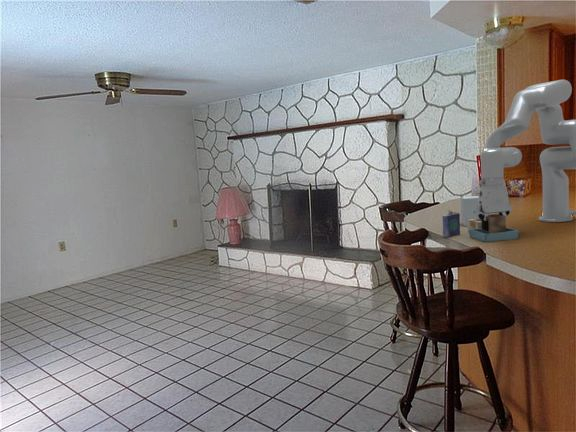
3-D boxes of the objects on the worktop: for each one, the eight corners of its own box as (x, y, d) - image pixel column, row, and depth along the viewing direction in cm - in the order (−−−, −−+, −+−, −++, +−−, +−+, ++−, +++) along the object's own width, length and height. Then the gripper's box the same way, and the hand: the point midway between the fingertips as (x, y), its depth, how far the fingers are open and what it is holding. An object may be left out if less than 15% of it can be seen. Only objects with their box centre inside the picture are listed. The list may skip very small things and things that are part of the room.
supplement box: (482, 225, 186) (481, 197, 184) (464, 226, 187) (463, 198, 185) (478, 222, 193) (477, 195, 191) (461, 223, 194) (460, 196, 192)
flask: (446, 238, 167) (445, 211, 166) (440, 237, 170) (439, 211, 169) (461, 234, 172) (460, 208, 171) (455, 233, 175) (454, 208, 173)
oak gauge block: (485, 229, 177) (485, 217, 176) (497, 232, 169) (496, 220, 168) (467, 231, 176) (467, 219, 176) (478, 234, 168) (478, 222, 168)
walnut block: (496, 229, 164) (496, 213, 163) (506, 231, 158) (505, 215, 157) (482, 230, 163) (481, 215, 162) (491, 233, 157) (490, 217, 156)
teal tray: (501, 233, 167) (500, 226, 166) (519, 238, 156) (519, 230, 155) (469, 237, 166) (469, 229, 165) (485, 242, 154) (485, 234, 154)
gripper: (476, 185, 153) (477, 233, 156) (520, 180, 155) (521, 228, 157) (465, 184, 161) (467, 230, 163) (507, 179, 162) (508, 225, 165)
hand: (493, 228), depth 160 cm, fingers closed on walnut block, 6 cm apart
